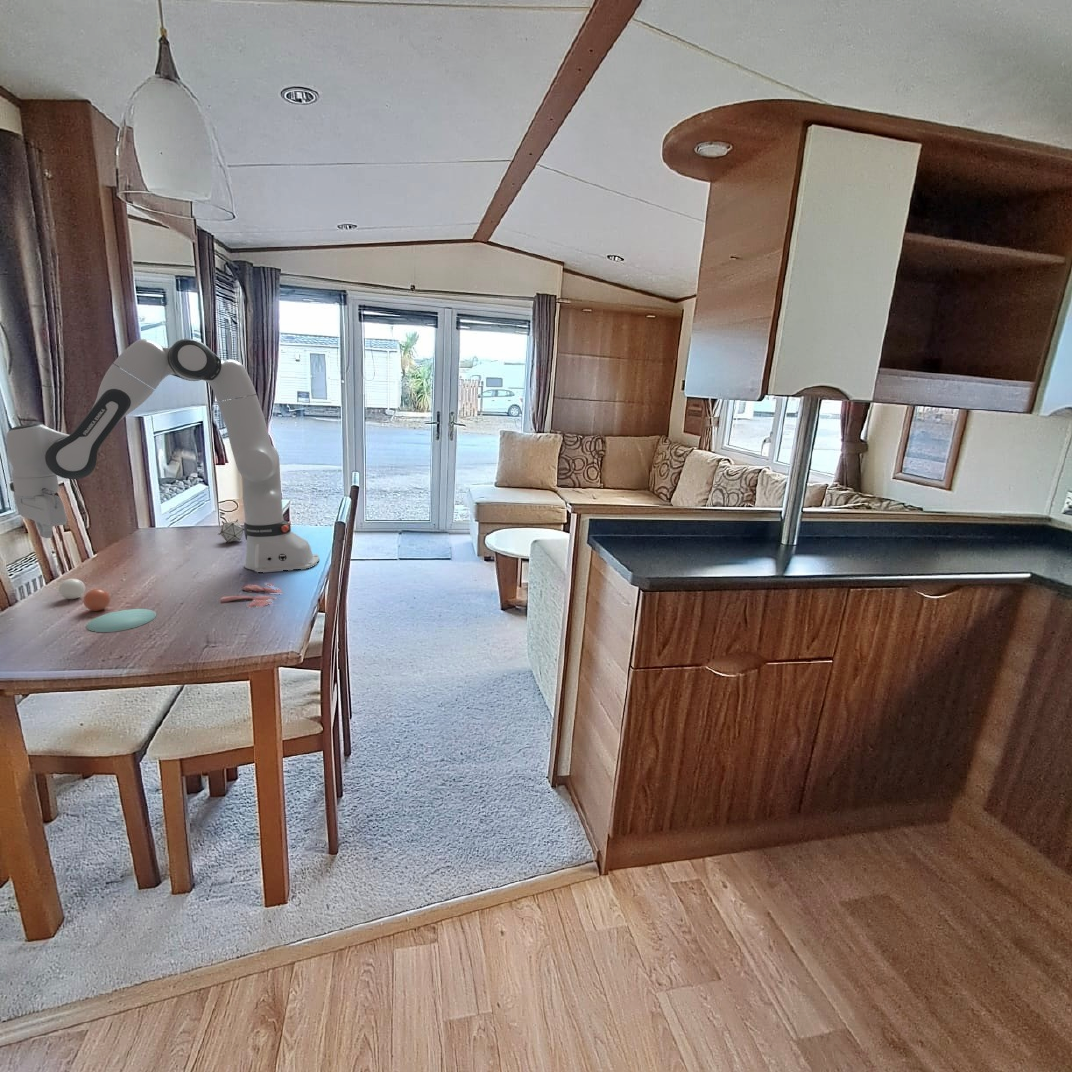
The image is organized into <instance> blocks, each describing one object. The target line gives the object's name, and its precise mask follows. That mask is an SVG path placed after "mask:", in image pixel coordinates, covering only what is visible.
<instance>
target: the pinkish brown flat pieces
mask: <svg viewBox="0 0 1072 1072" xmlns="http://www.w3.org/2000/svg"><path fill="white" fill-rule="evenodd" d="M267 585H269V586H271V585H272V586H275V585H274V584H272V583H270V584H269V582H267ZM264 587H265V588H264ZM264 587H261V586H260V585H257V584H246V586H243V588H242V590H241V591H242V592H248V591H252V592H251V593H258V592H264V593H282V594H283V590H281V589H280V588H279V589H278V590H277V589H276V590H274V589H271V587H268V586H264ZM264 593H263V594H264ZM275 597H276V596H268V595H255V596H251V595H250V596H248V595H234V596H233V595H232V596H230V595H229V596H228V595H227V596H226V595H225V596H223V597H221V598H220V602H221V604H223V603H231V602H230V601H232V602H237V601H236V600H247V601H251V603H250V602H249V603H250V604H249V603H248V604H249V605H248V604H247V605H248V606H247V607H251V608H254V607H253V606H257V607H262V606H265V605H267V604H269V603H272V602H271V601H266V600H268V599H275ZM252 600H255V601H253V602H252ZM275 600H276V599H275ZM265 607H266V606H265ZM262 608H263V607H262Z"/></svg>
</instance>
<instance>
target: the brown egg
mask: <svg viewBox="0 0 1072 1072" xmlns="http://www.w3.org/2000/svg"><path fill="white" fill-rule="evenodd" d="M82 600H83V605H84V606H85V608H87V609H88V610H90V611H94V612H96V611H102V610H104V609H106V608H107V607H108V606H109V605H110V603H111V595H110V594H109V592H107V591H106V590H105V589H101V588H93V589H91V590H89V591H87V592H86V593H85V595H84V597H83V599H82Z"/></svg>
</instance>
